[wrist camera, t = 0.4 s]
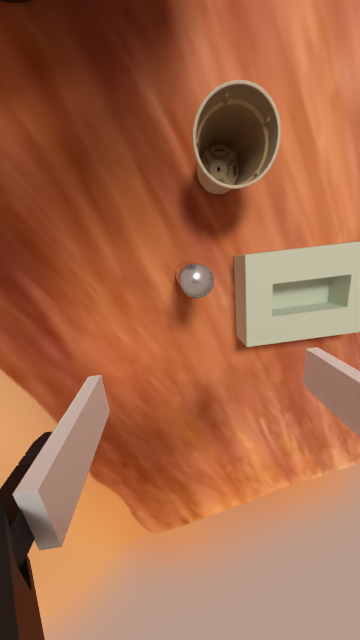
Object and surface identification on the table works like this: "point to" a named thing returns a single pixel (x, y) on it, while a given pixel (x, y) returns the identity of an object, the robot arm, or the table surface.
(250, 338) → the slot block
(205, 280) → the pin
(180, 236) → the table surface
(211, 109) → the flower pot
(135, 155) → the table surface
